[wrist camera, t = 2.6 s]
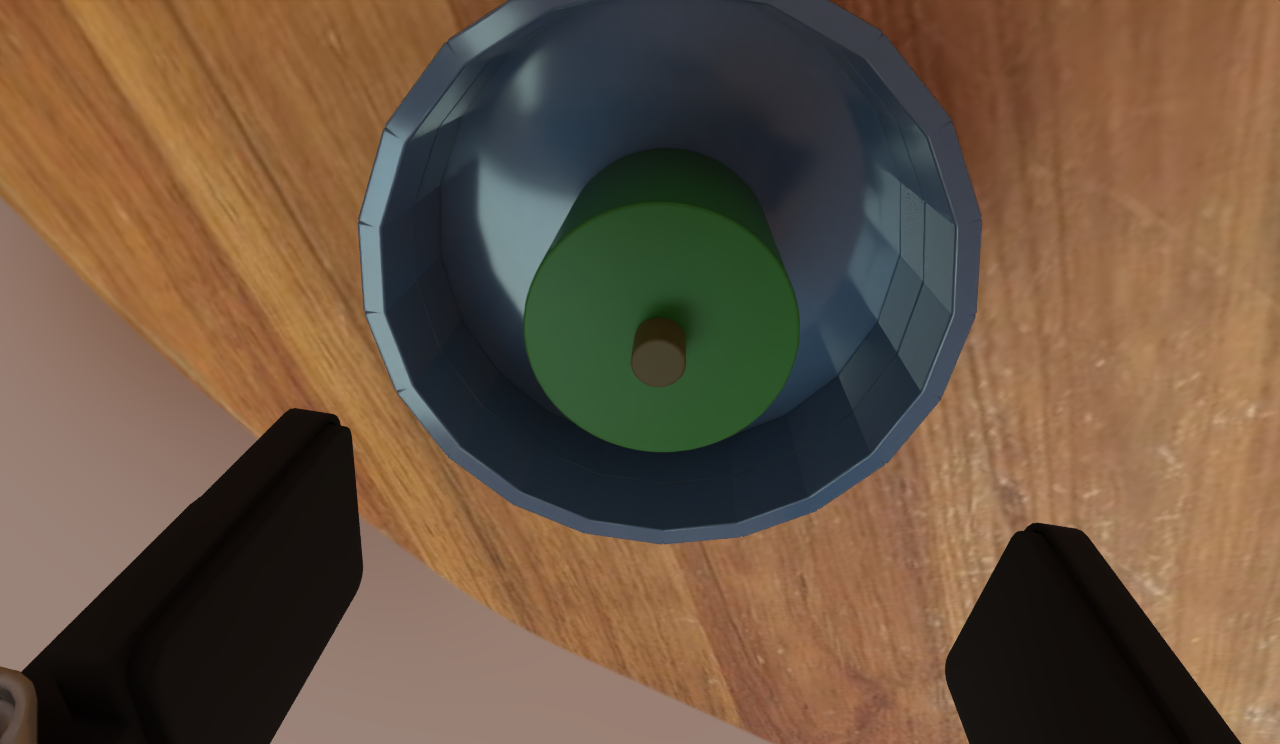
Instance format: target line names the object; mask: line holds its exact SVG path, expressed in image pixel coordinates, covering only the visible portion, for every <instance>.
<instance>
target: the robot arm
mask: <svg viewBox="0 0 1280 744" xmlns="http://www.w3.org/2000/svg"><path fill="white" fill-rule="evenodd" d="M362 573H363V560H362V549H361V536H360V526H359V513H358V502H357V490H356V479H355V467H354V456H353V444H352V435H351V431H350V429H349V428H348V427H345V426H341V425H340V420H339V419H338V417H337V416H336V415H334V414H330V413H323V412H317V411H310V410H304V409H297V408H293V409H290V410H288V411H287V412H285V413H284V414H283V415H282V416H281V417H280V418H279V419H278V420H277V421H276V422H275V423H274V424H273V425H272V426H271V427H270V428H269V429H268V430H267V431H266V432H265V433H264V434H263V435H262V436H261V437H260V438H259V439H258V440H257V441H256V442H255V443H254V444H253V445H252V446H251V447H250V448H249V449H248V450H247V451H246V452H245V453H244V454H243V455H242V456H241V457H240V458H239V459H238V460H237V461H236V462H235V463H234V464H233V465H232V466H231V467H230V468H229V469H228V470H227V471H226V472H225V473H224V474H223V475H222V476H221V477H220V478H219V479H218V480H217V481H216V482H215V483H214V484H213V485H212V486H211V487H210V488H209V489H208V490H207V491H206V492H205V493H204V494H203V495H202V496H201V497H199V498H198V499H197V500H196V501H194V502H193V503H192V504H190V505H189V506H188V507H187V508H186V509H185V510H184V511H183V512H182V513H181V514H180V515H179V516H178V517H177V518H176V519H175V520H174V521H173V522H172V523H171V524H170V525H169V526H168V527H167V528H166V529H165V530H164V531H163V532H162V533H161V534H160V535H159V536H158V537H157V538H156V539H155V540H154V541H153V542H152V543H151V544H150V545H149V546H148V547H147V548H146V549H145V550H144V551H143V552H142V553H141V554H140V555H139V556H138V557H137V558H136V559H135V560H134V561H133V562H132V563H131V564H130V565H129V566H128V567H127V568H126V569H125V570H124V571H123V572H122V573H121V574H120V575H118V576H117V577H116V578H115V579H114V581H112V582H111V583H110V584H109V585H108V586H107V587H106V588H105V589H104V590H103V591H102V592H101V593H100V594H99V595H98V596H97V598H95V599H94V600H93V601H92V602H91V603H90V604H89V605H88V606H87V607H86V608H85V609H84V610H83V611H82V612H81V613H80V614H79V615H78V616H77V617H76V618H75V619H74V620H73V621H72V622H71V623H70V624H69V625H68V626H67V627H66V628H65V629H64V630H63V631H62V632H61V633H60V634H59V635H58V636H57V637H56V638H55V639H54V640H53V641H52V642H51V643H50V644H49V645H48V646H47V647H46V648H45V649H44V650H43V651H42V652H41V653H40V654H39V655H38V656H37V657H36V658H35V659H34V660H33V661H32V662H31V663H30V664H29V665H28V666H27V667H26V668H25V669H24V670H23V671H22V672H20V671H16V670H12V669H8V668H4V667H0V744H270V743H271V741H272V739H273V737H274V736H275V734H276V732H277V730H278V729H279V727H280V725H281V723H282V721H283V720H284V718H285V716H286V715H287V713H288V711H289V710H290V708H291V706H292V704H293V702H294V701H295V699H296V697H297V696H298V694H299V692H300V690H301V689H302V687H303V685H304V683H305V682H306V680H307V678H308V676H309V675H310V673H311V671H312V669H313V668H314V666H315V664H316V662H317V661H318V659H319V657H320V655H321V654H322V652H323V650H324V648H325V647H326V645H327V643H328V641H329V640H330V638H331V636H332V635H333V633H334V631H335V629H336V627H337V626H338V624H339V622H340V621H341V619H342V617H343V615H344V613H345V612H346V610H347V608H348V607H349V605H350V603H351V601H352V600H353V598H354V596H355V594H356V592H357V590H358V588H359V585H360V582H361V579H362ZM945 675H946V681H947V684H948V687H949V690H950V693H951V695H952V698H953V701H954V703H955V706H956V709H957V711H958V714H959V717H960V719H961V722H962V725H963V727H964V730H965V733H966V736H967V738H968V741H969V744H1241V743H1240V741H1239V740H1238V739H1237V737H1236V736H1235V735H1234V733H1233V732H1232V731H1231V729H1230V728H1229V727H1228V725H1227V724H1226V722H1225V721H1224V720H1223V718H1222V717H1221V716H1220V714H1219V713H1218V712H1217V710H1216V709H1215V708H1214V706H1213V705H1212V704H1211V702H1210V701H1209V700H1208V698H1207V697H1206V695H1205V694H1204V693H1203V691H1202V690H1201V689H1200V687H1199V686H1198V685H1197V683H1196V682H1195V681H1194V679H1193V678H1192V677H1191V675H1190V674H1189V672H1188V671H1187V670H1186V668H1185V667H1184V666H1183V664H1182V663H1181V662H1180V660H1179V659H1178V658H1177V656H1176V655H1175V654H1174V652H1173V651H1172V650H1171V648H1170V647H1169V645H1168V644H1167V643H1166V641H1165V640H1164V639H1163V637H1162V636H1161V635H1160V633H1159V632H1158V631H1157V629H1156V628H1155V627H1154V625H1153V624H1152V623H1151V621H1150V620H1149V618H1148V617H1147V616H1146V614H1145V613H1144V612H1143V610H1142V609H1141V608H1140V606H1139V605H1138V604H1137V602H1136V601H1135V600H1134V598H1133V597H1132V596H1131V594H1130V593H1129V591H1128V590H1127V589H1126V587H1125V586H1124V585H1123V583H1122V582H1121V581H1120V579H1119V578H1118V577H1117V575H1116V574H1115V573H1114V571H1113V570H1112V569H1111V567H1110V566H1109V564H1108V563H1107V562H1106V560H1105V559H1104V558H1103V556H1102V555H1101V554H1100V552H1099V551H1098V550H1097V548H1096V547H1095V546H1094V544H1093V543H1092V542H1091V540H1090V539H1089V537H1088V536H1087V535H1086V534H1085V533H1084V532H1083V531H1081V530H1078V529H1075V528H1068V527H1062V526H1056V525H1049V524H1043V523H1032V524H1031V525H1029V526H1028V527H1027V528H1026V529H1025V530H1024V531H1018V532H1017V533H1015V534H1014V535H1013V537H1012V538H1011V540H1010V541H1009V543H1008V545H1007V547H1006V549H1005V551H1004V553H1003V554H1002V556H1001V558H1000V560H999V562H998V564H997V565H996V567H995V569H994V571H993V573H992V575H991V577H990V578H989V580H988V582H987V584H986V586H985V588H984V590H983V591H982V593H981V595H980V597H979V599H978V601H977V602H976V604H975V606H974V608H973V610H972V612H971V614H970V615H969V617H968V619H967V621H966V623H965V625H964V627H963V628H962V630H961V632H960V634H959V636H958V638H957V640H956V641H955V643H954V645H953V647H952V649H951V651H950V652H949V654H948V657H947V659H946V665H945Z"/></svg>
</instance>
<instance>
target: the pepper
mask: <svg viewBox="0 0 1280 744" xmlns="http://www.w3.org/2000/svg"><path fill="white" fill-rule="evenodd" d="M523 331H524V340H525V347H526V352H527V355H528V358H529V362H530V365H531V367H532V370H533V372H534V374H535V376H536V378H537V381H538V382H539V384H540V385H541V387H542V389H543V390H544V392H545V393H546V395H547V396H548V397H549V399H550V400H551V401H552V402H553V403H554V405H555V406H556V407H557V408H558V409H559V410H560V411H561V412H562V413H563V414H564V415H565V416H566V417H567V418H569V419H570V420H571V421H573V422H574V423H575V424H577V425H578V426H579V427H581V428H582V429H584V430H586V431H587V432H589V433H591V434H592V435H594V436H596V437H598V438H601V439H603V440H605V441H607V442H610V443H613V444H616V445H619V446H622V447H626V448H631V449H635V450H640V451H650V452H677V451H685V450H692V449H696V448H700V447H704V446H708V445H710V444H713V443H716V442H719V441H722V440H724V439H726V438H728V437H730V436H732V435H734V434H736V433H737V432H739V431H740V430H742V429H743V428H745V427H747V426H748V425H750V424H751V423H752V422H753V421H754V420H756V419H757V418H758V417H759V416H760V415H762V414H763V413H764V411H765V410H766V409H767V408H768V407H769V406H770V405H771V404H772V403H773V402H774V400H775V399H776V397H777V396H778V395H779V393H780V392H781V390H782V389H783V387H784V385H785V383H786V382H787V380H788V378H789V376H790V374H791V371H792V368H793V366H794V363H795V360H796V356H797V351H798V347H799V340H800V317H799V308H798V304H797V300H796V295H795V292H794V289H793V287H792V284H791V281H790V279H789V276H788V274H787V271H786V268H785V266H784V263H783V261H782V258H781V256H780V253H779V250H778V248H777V245H776V243H775V240H774V237H773V235H772V232H771V230H770V227H769V224H768V222H767V219H766V217H765V214H764V212H763V209H762V207H761V205H760V203H759V201H758V200H757V198H756V196H755V194H754V193H753V192H752V191H751V189H750V188H749V187H748V185H747V184H746V183H745V182H744V181H743V180H742V179H741V178H740V177H739V176H738V175H737V174H736V173H735V172H733V171H732V170H730V169H729V168H728V167H726V166H725V165H724V164H722V163H720V162H718V161H716V160H714V159H712V158H710V157H708V156H705V155H702V154H700V153H697V152H692V151H688V150H683V149H671V148H664V149H651V150H646V151H641V152H637V153H634V154H631V155H628V156H625V157H623V158H621V159H619V160H617V161H615V162H613V163H612V164H610V165H609V166H607V167H606V168H604V169H603V170H601V171H600V172H599V173H598V174H597V175H596V176H595V177H593V178H592V179H591V180H590V181H589V183H588V184H587V185H586V186H585V187H584V188H583V190H582V191H581V192H580V194H579V196H578V197H577V199H576V200H575V202H574V204H573V206H572V207H571V209H570V211H569V213H568V215H567V216H566V218H565V220H564V222H563V224H562V226H561V227H560V229H559V231H558V233H557V235H556V236H555V238H554V240H553V242H552V244H551V246H550V247H549V249H548V251H547V253H546V255H545V256H544V258H543V260H542V262H541V264H540V266H539V267H538V269H537V271H536V273H535V276H534V278H533V280H532V282H531V285H530V288H529V291H528V295H527V298H526V302H525V309H524V317H523Z"/></svg>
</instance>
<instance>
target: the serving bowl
mask: <svg viewBox="0 0 1280 744" xmlns="http://www.w3.org/2000/svg"><path fill="white" fill-rule="evenodd" d="M664 148H671V149H683V150H688V151H692V152H697V153H700V154H702V155H705V156H708V157H710V158H712V159H714V160H716V161H718V162H720V163H722V164H724V165H725V166H726V167H728V168H729V169H730V170H732V171H733V172H735V173H736V174H737V175H738V176H739V177H740V178H741V179H742V180H743V181H744V182H745V183H746V184H747V185H748V187H749V188H750V189H751V191H752V192H753V193H754V194H755V196H756V198H757V200H758V201H759V203H760V205H761V207H762V209H763V212H764V214H765V217H766V219H767V222H768V224H769V227H770V230H771V232H772V235H773V237H774V240H775V243H776V245H777V248H778V250H779V253H780V256H781V258H782V261H783V263H784V266H785V268H786V271H787V274H788V276H789V279H790V281H791V284H792V287H793V289H794V292H795V295H796V300H797V304H798V308H799V317H800V340H799V347H798V351H797V356H796V360H795V363H794V366H793V368H792V371H791V374H790V376H789V378H788V380H787V382H786V383H785V385H784V387H783V389H782V390H781V392H780V393H779V395H778V396H777V397H776V399H775V400H774V402H773V403H772V404H771V405H770V406H769V407H768V408H767V409H766V410H765V411H764V413H763V414H762V415H760V416H759V417H758V418H757V419H756V420H754V421H753V422H752V423H751V424H750V425H748V426H747V427H745V428H743V429H742V430H740V431H739V432H737V433H736V434H734V435H732V436H730V437H728V438H726V439H724V440H722V441H719V442H716V443H713V444H710V445H708V446H704V447H700V448H696V449H692V450H685V451H677V452H650V451H640V450H635V449H631V448H626V447H622V446H619V445H616V444H613V443H610V442H607V441H605V440H603V439H601V438H598V437H596V436H594V435H592V434H591V433H589V432H587V431H586V430H584V429H582V428H581V427H579V426H578V425H577V424H575V423H574V422H573V421H571V420H570V419H569V418H567V417H566V416H565V415H564V414H563V413H562V412H561V411H560V410H559V409H558V408H557V407H556V406H555V405H554V403H553V402H552V401H551V400H550V399H549V397H548V396H547V395H546V393H545V392H544V390H543V389H542V387H541V385H540V384H539V382H538V381H537V378H536V376H535V374H534V372H533V370H532V367H531V365H530V362H529V358H528V355H527V352H526V347H525V340H524V331H523V317H524V309H525V302H526V298H527V295H528V291H529V288H530V285H531V282H532V280H533V278H534V276H535V273H536V271H537V269H538V267H539V266H540V264H541V262H542V260H543V258H544V256H545V255H546V253H547V251H548V249H549V247H550V246H551V244H552V242H553V240H554V238H555V236H556V235H557V233H558V231H559V229H560V227H561V226H562V224H563V222H564V220H565V218H566V216H567V215H568V213H569V211H570V209H571V207H572V206H573V204H574V202H575V200H576V199H577V197H578V196H579V194H580V192H581V191H582V190H583V188H584V187H585V186H586V185H587V184H588V183H589V181H590V180H591V179H592V178H593V177H595V176H596V175H597V174H598V173H599V172H600V171H601V170H603V169H604V168H606V167H607V166H609V165H610V164H612V163H613V162H615V161H617V160H619V159H621V158H623V157H625V156H628V155H631V154H634V153H637V152H641V151H646V150H651V149H664ZM358 220H359V222H358V233H359V248H360V263H361V277H362V292H363V307H364V311H365V316H366V319H367V321H368V324H369V326H370V329H371V331H372V334H373V336H374V339H375V341H376V344H377V346H378V349H379V351H380V354H381V356H382V358H383V361H384V363H385V366H386V368H387V371H388V373H389V376H390V378H391V381H392V383H393V386H394V388H395V390H396V391H397V394H398V395H399V396H400V398H401V399H402V400H403V401H404V403H405V404H406V405H407V406H408V408H409V409H410V410H411V411H412V413H413V414H414V415H415V416H416V418H417V419H418V420H419V421H420V423H421V424H422V425H423V427H424V428H425V429H426V430H427V432H428V433H429V434H430V435H431V437H432V438H433V439H434V440H435V442H436V443H437V444H438V445H439V447H440V448H441V449H442V450H443V452H444V453H445V454H446V455H448V457H449V458H450V459H451V460H453V461H454V462H455V463H457V464H458V465H459V466H461V467H462V468H463V469H465V470H466V471H468V472H469V473H470V474H472V475H473V476H474V477H476V478H477V479H479V480H480V481H481V482H483V483H484V484H485V485H487V486H488V487H489V488H491V489H492V490H494V491H495V492H496V493H498V494H499V495H500V496H502V497H503V498H504V499H506V500H507V501H509V502H510V503H512V504H513V505H515V506H518V507H520V508H523V509H525V510H528V511H530V512H533V513H535V514H538V515H540V516H543V517H545V518H548V519H550V520H553V521H555V522H558V523H560V524H562V525H565V526H567V527H570V528H572V529H575V530H577V531H580V532H582V533H585V532H586V533H587V534H593V535H600V536H606V537H613V538H620V539H627V540H634V541H641V542H648V543H655V544H674V543H684V542H695V541H705V540H716V539H726V538H737V537H741V536H742V537H744V536H747V535H750V534H753V533H755V532H758V531H761V530H764V529H767V528H770V527H772V526H775V525H778V524H781V523H784V522H787V521H790V520H792V519H795V518H798V517H801V516H804V515H807V514H809V513H812V512H815V511H817V509H820V508H822V507H823V506H825V505H826V504H828V503H829V502H831V501H832V500H834V499H835V498H837V497H838V496H840V495H841V494H843V493H844V492H846V491H847V490H848V489H850V488H851V487H853V486H854V485H856V484H857V483H859V482H860V481H862V480H863V479H865V478H866V477H868V476H869V475H871V474H872V473H874V472H875V471H877V470H878V469H880V468H881V467H883V466H884V465H885V463H888V462H889V461H890V460H891V458H892V457H893V456H894V455H895V454H896V452H897V451H898V450H899V449H900V448H901V446H902V445H903V444H904V443H905V442H906V441H907V439H908V438H909V437H910V436H911V435H912V433H913V432H914V431H915V430H916V429H917V427H918V426H919V425H920V424H921V423H922V421H923V420H924V419H925V418H926V417H927V416H928V414H929V413H930V412H931V411H932V410H933V408H934V407H935V406H936V405H937V404H938V402H939V401H940V400H941V397H942V396H943V394H944V391H945V389H946V386H947V384H948V382H949V379H950V377H951V374H952V372H953V370H954V367H955V365H956V362H957V360H958V358H959V355H960V353H961V350H962V348H963V346H964V343H965V341H966V338H967V336H968V334H969V331H970V329H971V326H972V324H973V322H974V319H975V314H976V312H977V296H978V280H979V264H980V247H981V231H982V220H981V212H980V209H979V206H978V202H977V199H976V196H975V192H974V189H973V186H972V183H971V179H970V176H969V173H968V170H967V166H966V163H965V160H964V156H963V153H962V150H961V147H960V143H959V140H958V137H957V133H956V130H955V127H954V124H953V122H952V121H951V118H950V116H949V115H948V113H947V112H946V111H945V109H944V108H943V107H942V106H941V104H940V103H939V102H938V101H937V99H936V98H935V97H934V96H933V94H932V93H931V92H930V90H929V89H928V88H927V87H926V85H925V84H924V83H923V82H922V80H921V79H920V78H919V77H918V75H917V74H916V73H915V71H914V70H913V69H912V68H911V66H910V65H909V64H908V63H907V61H906V60H905V59H904V57H903V56H902V55H901V54H900V52H899V51H898V50H897V49H896V47H895V46H894V45H893V44H892V42H891V41H890V40H889V38H888V37H887V36H886V35H885V34H883V33H882V31H881V30H880V29H878V28H876V27H875V26H873V25H871V24H869V23H868V22H866V21H864V20H863V19H861V18H859V17H857V16H856V15H854V14H852V13H851V12H849V11H847V10H845V9H844V8H842V7H840V6H839V5H837V4H835V3H833V2H832V1H830V0H508V1H506V2H505V3H503V4H501V5H500V6H498V7H497V8H495V9H494V10H492V11H491V12H489V13H488V14H486V15H485V16H483V17H482V18H480V19H478V20H477V21H475V22H474V23H472V24H471V25H469V26H468V27H466V28H465V29H463V30H462V31H460V32H458V33H457V34H455V35H454V36H452V37H451V38H449V39H448V42H446V43H444V44H443V46H442V47H441V48H440V50H439V51H438V53H437V54H436V55H435V57H434V58H433V59H432V61H431V62H430V64H429V65H428V66H427V68H426V69H425V70H424V72H423V73H422V75H421V76H420V77H419V79H418V80H417V81H416V83H415V84H414V86H413V87H412V88H411V90H410V91H409V93H408V94H407V95H406V97H405V98H404V99H403V101H402V102H401V104H400V105H399V106H398V108H397V109H396V110H395V112H394V113H393V115H392V116H391V117H390V119H389V120H388V121H387V123H386V125H385V128H384V129H383V132H382V135H381V139H380V142H379V146H378V150H377V153H376V157H375V160H374V164H373V167H372V171H371V175H370V178H369V182H368V185H367V189H366V193H365V196H364V200H363V203H362V207H361V211H360V214H359V218H358Z"/></svg>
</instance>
